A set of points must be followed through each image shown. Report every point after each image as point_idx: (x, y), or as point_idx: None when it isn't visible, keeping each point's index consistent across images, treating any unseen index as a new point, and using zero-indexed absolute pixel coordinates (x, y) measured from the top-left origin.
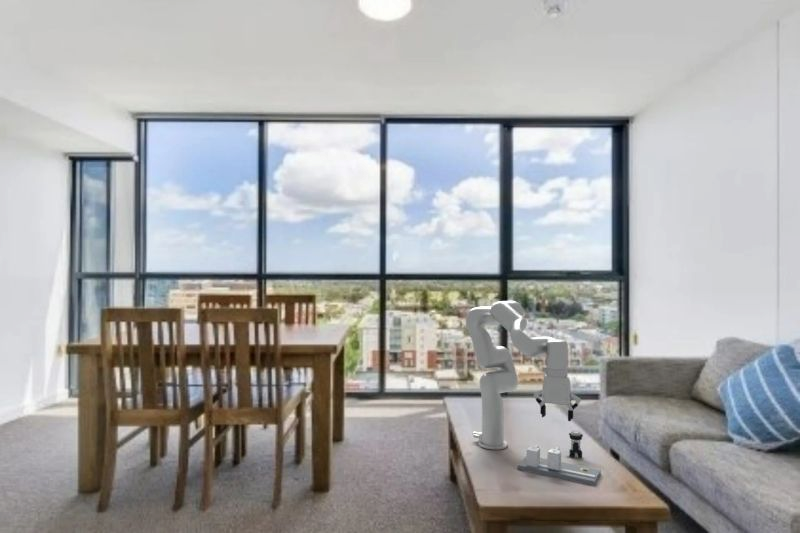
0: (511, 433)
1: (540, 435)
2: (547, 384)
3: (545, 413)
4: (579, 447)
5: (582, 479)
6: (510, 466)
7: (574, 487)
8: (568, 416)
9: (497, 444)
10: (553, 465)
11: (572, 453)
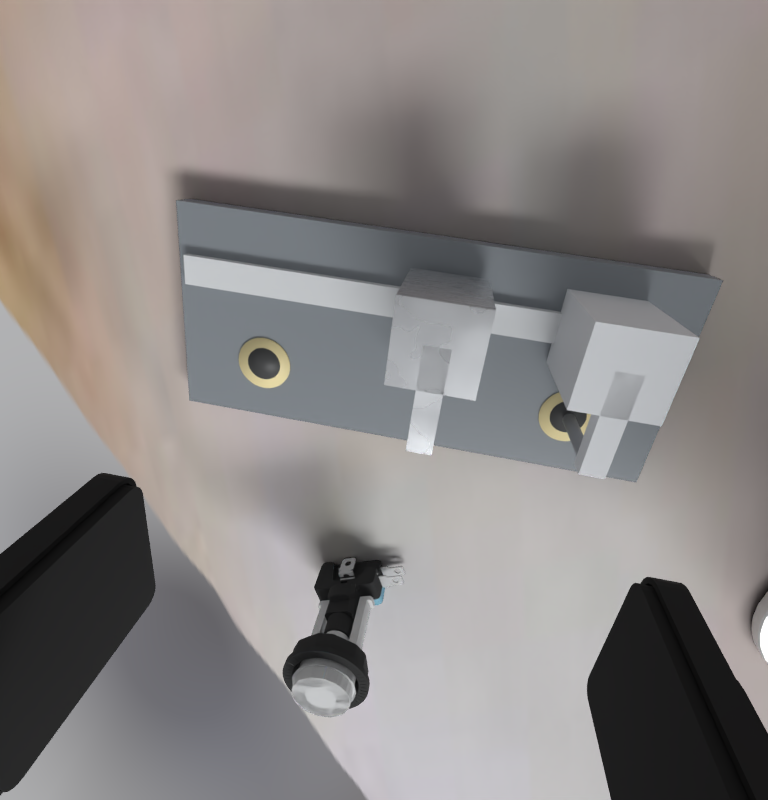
0: None
1: (546, 764)
2: None
3: (599, 714)
4: (323, 610)
5: (252, 211)
6: (762, 303)
7: (293, 99)
8: (58, 534)
9: None
10: (445, 278)
11: (364, 573)
